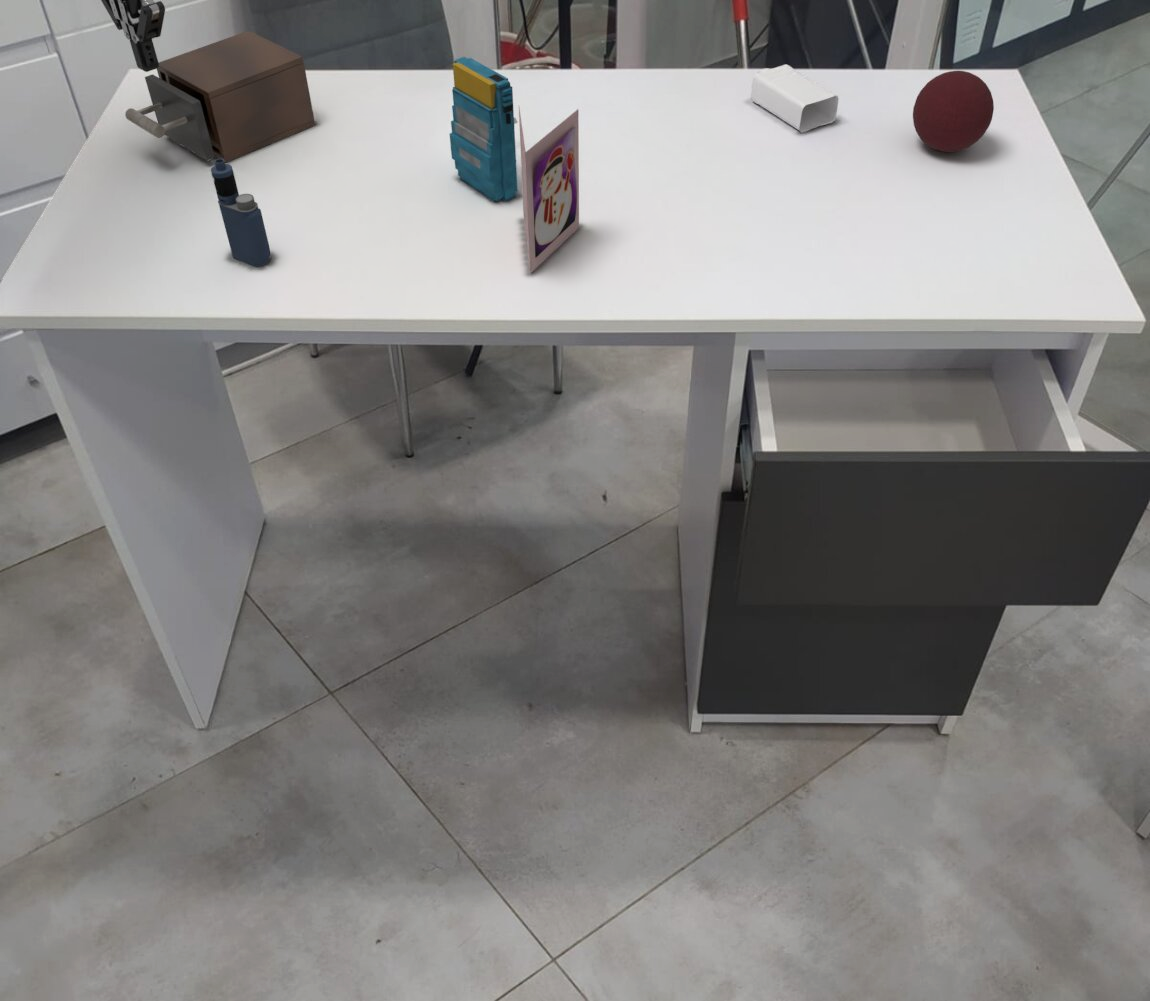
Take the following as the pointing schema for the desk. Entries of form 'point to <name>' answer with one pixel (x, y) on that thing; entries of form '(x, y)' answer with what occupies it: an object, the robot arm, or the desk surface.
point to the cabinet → (246, 91)
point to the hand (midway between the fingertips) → (149, 68)
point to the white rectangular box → (794, 98)
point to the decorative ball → (953, 111)
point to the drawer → (178, 116)
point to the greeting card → (550, 189)
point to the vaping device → (240, 218)
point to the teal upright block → (483, 130)
